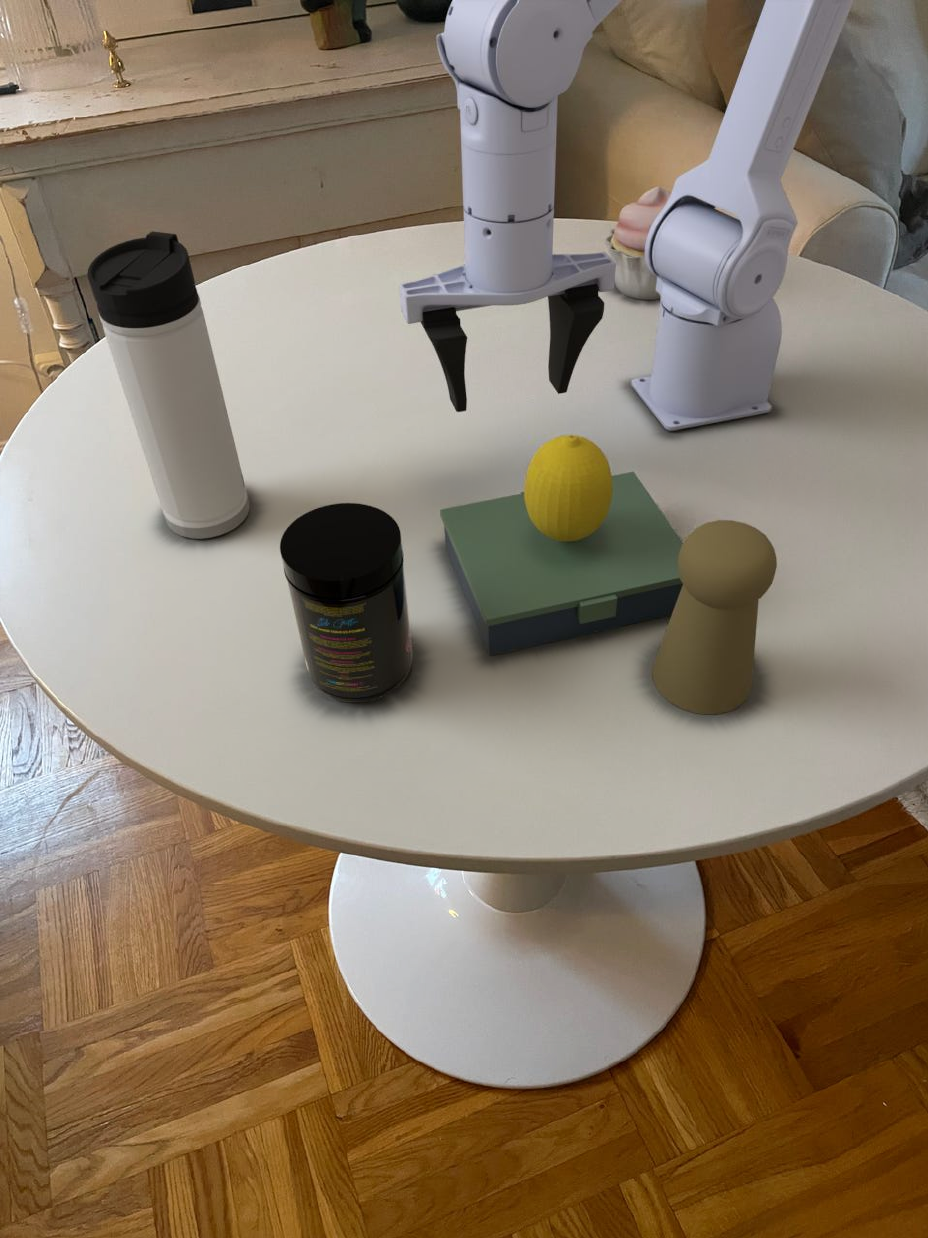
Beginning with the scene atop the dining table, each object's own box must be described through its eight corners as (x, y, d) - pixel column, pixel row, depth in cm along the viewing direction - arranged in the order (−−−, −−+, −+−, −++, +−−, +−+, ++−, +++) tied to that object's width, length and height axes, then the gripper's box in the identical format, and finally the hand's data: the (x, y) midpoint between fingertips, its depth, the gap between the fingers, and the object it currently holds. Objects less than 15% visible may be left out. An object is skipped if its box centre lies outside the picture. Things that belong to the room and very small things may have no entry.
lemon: (614, 563, 60) (625, 460, 54) (528, 569, 60) (530, 466, 54) (600, 510, 64) (609, 408, 58) (519, 515, 63) (520, 414, 58)
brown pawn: (642, 645, 59) (662, 508, 52) (735, 637, 59) (769, 499, 52) (664, 718, 55) (690, 581, 47) (765, 710, 55) (807, 571, 47)
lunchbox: (627, 506, 69) (631, 467, 67) (699, 615, 61) (707, 576, 59) (440, 544, 67) (438, 505, 65) (488, 663, 59) (488, 624, 56)
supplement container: (424, 695, 57) (412, 567, 50) (315, 718, 56) (286, 591, 49) (403, 620, 62) (389, 493, 54) (301, 640, 61) (273, 514, 53)
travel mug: (267, 494, 72) (209, 235, 58) (224, 547, 68) (150, 281, 53) (196, 480, 73) (123, 225, 59) (150, 531, 69) (60, 269, 55)
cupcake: (598, 307, 92) (606, 203, 85) (601, 266, 99) (609, 166, 92) (695, 310, 91) (710, 205, 84) (691, 268, 98) (706, 168, 90)
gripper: (593, 168, 62) (582, 352, 72) (382, 198, 60) (399, 384, 70) (635, 206, 58) (617, 399, 67) (407, 240, 55) (422, 435, 65)
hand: (508, 395), depth 68 cm, fingers open, 7 cm apart
